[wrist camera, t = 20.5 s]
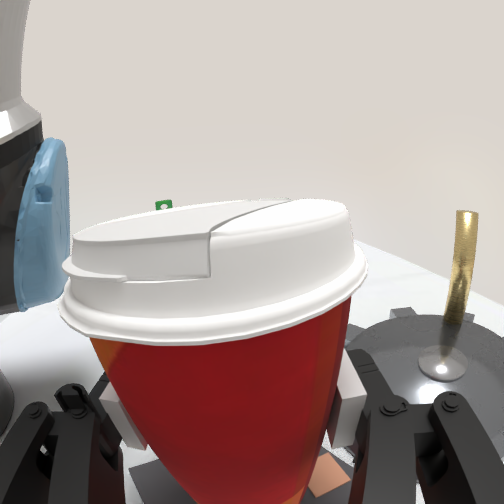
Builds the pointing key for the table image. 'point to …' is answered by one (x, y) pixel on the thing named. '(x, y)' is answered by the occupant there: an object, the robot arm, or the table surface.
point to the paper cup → (222, 335)
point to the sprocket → (443, 346)
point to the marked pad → (178, 500)
